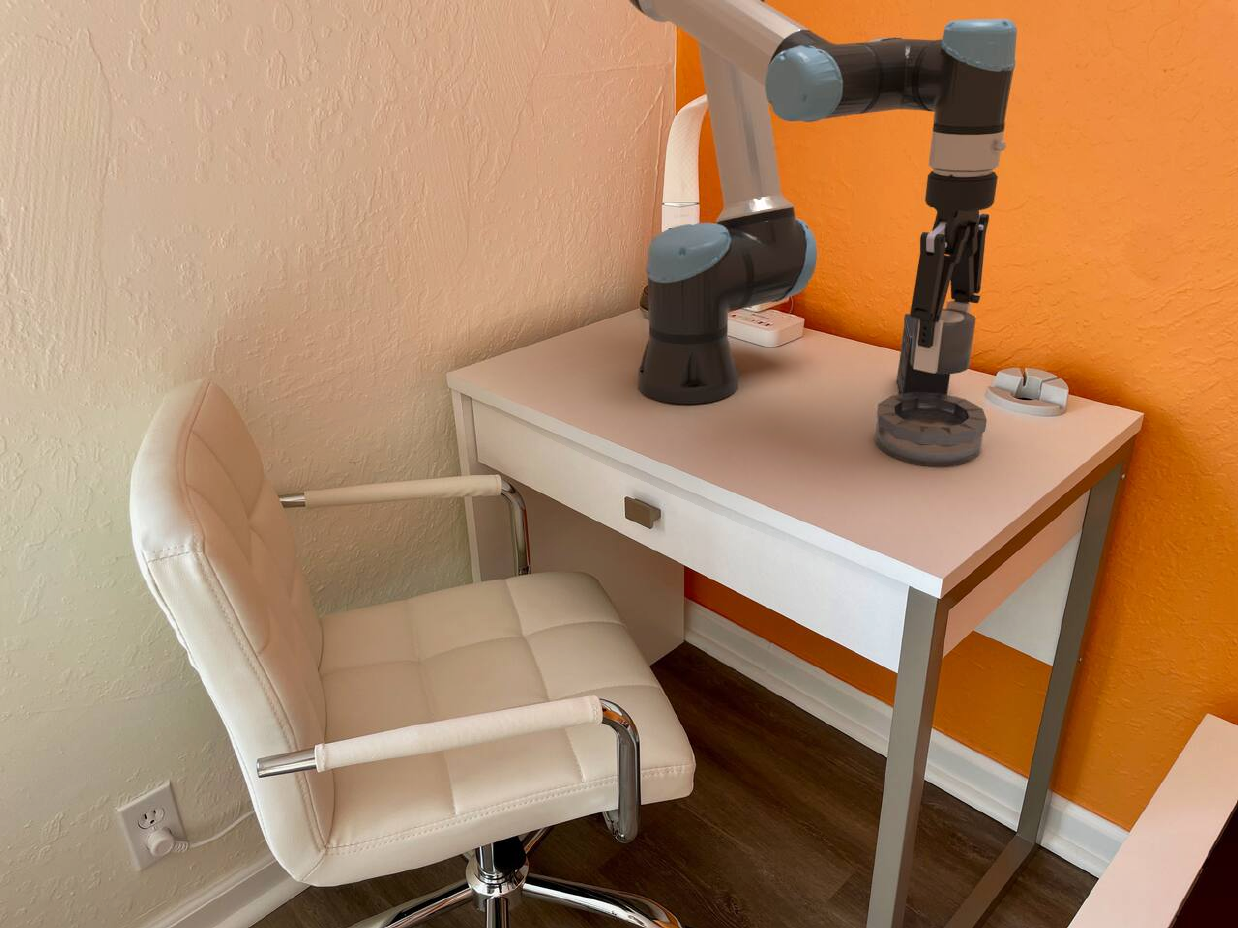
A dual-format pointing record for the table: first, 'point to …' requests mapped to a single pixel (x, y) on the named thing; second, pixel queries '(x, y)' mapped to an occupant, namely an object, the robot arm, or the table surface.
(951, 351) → the cap
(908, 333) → the small box
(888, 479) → the table surface
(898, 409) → the faceted ashtray
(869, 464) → the table surface
